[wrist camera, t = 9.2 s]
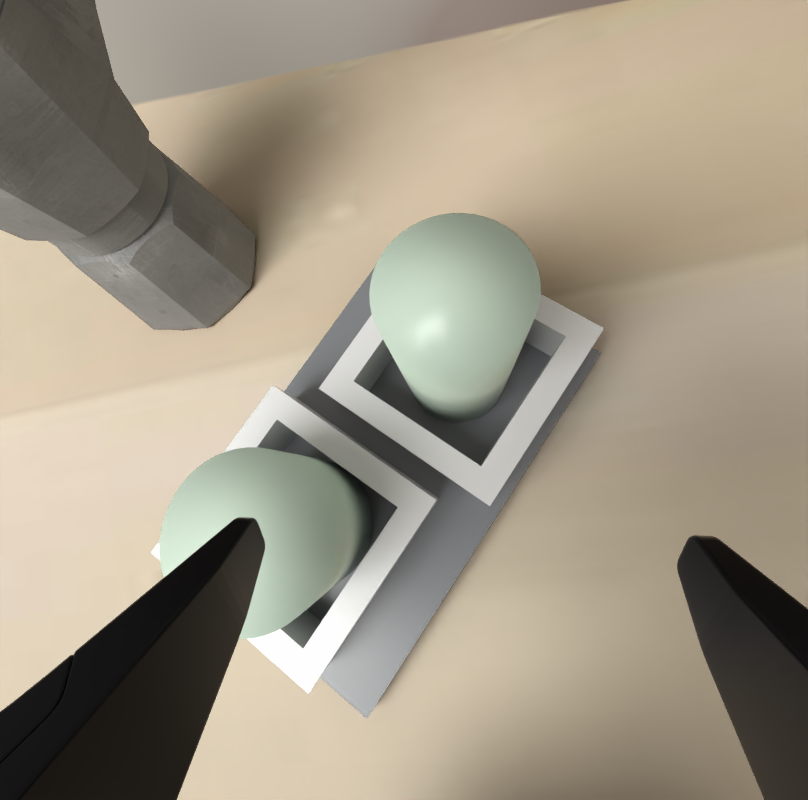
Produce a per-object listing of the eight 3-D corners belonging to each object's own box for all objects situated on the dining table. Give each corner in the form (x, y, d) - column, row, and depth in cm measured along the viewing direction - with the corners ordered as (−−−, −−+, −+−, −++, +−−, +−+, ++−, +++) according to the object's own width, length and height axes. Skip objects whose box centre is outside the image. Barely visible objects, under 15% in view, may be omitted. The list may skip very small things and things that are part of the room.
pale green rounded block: (492, 433, 21) (518, 390, 11) (398, 409, 22) (348, 349, 12) (515, 342, 22) (557, 228, 12) (424, 322, 23) (395, 201, 13)
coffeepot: (265, 169, 27) (-77, -398, 10) (308, 288, 25) (-28, -163, 8) (57, 260, 28) (-620, -120, 10) (82, 385, 26) (-719, 172, 8)
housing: (371, 707, 20) (318, 848, 12) (183, 544, 23) (43, 575, 15) (594, 358, 22) (670, 290, 14) (397, 247, 25) (372, 140, 17)
